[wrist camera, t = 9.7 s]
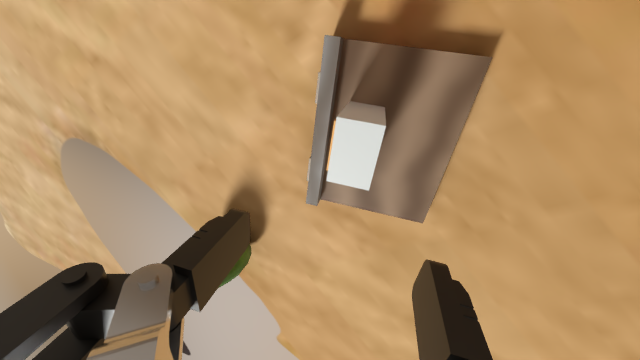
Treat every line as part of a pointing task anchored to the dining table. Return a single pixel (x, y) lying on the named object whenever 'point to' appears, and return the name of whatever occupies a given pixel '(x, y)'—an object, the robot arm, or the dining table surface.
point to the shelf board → (394, 120)
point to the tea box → (356, 144)
